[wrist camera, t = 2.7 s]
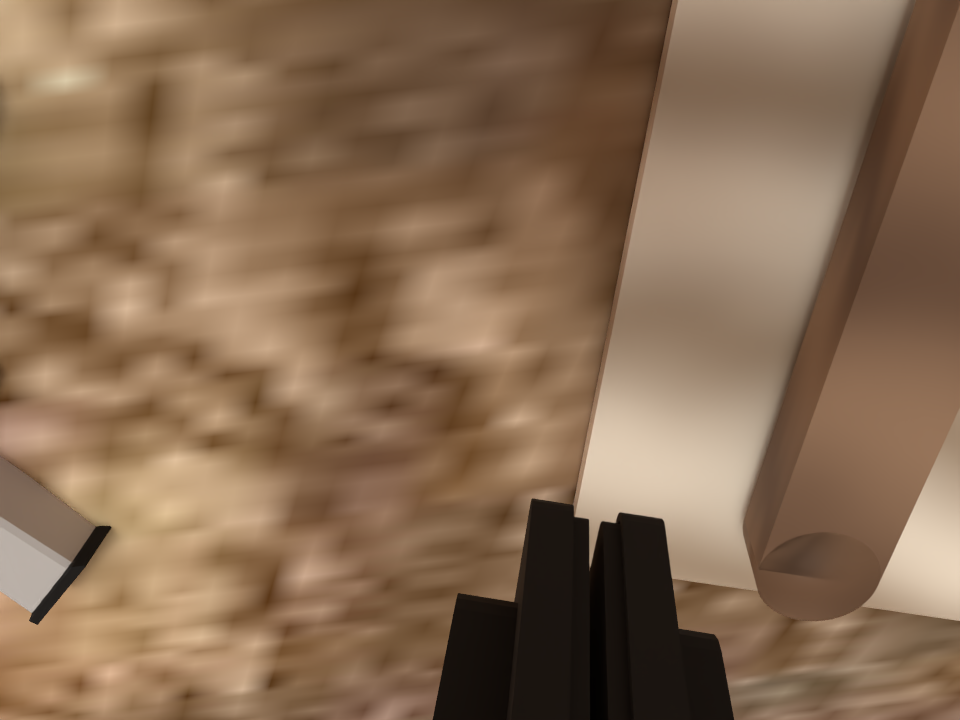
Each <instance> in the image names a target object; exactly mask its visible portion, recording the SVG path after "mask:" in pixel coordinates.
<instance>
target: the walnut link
mask: <svg viewBox="0 0 960 720" xmlns="http://www.w3.org/2000/svg"><path fill="white" fill-rule="evenodd" d="M959 409H960V0H916V2H915V5H914V8H913V12H912V15H911V18H910V21H909V24H908V27H907V30H906V33H905V36H904V39H903V42H902V45H901V48H900V51H899V54H898V57H897V60H896V63H895V66H894V69H893V72H892V75H891V78H890V81H889V84H888V87H887V90H886V93H885V96H884V99H883V102H882V105H881V108H880V111H879V114H878V117H877V120H876V123H875V126H874V129H873V132H872V135H871V138H870V141H869V144H868V147H867V150H866V153H865V156H864V159H863V162H862V165H861V168H860V171H859V174H858V177H857V180H856V183H855V186H854V189H853V192H852V195H851V198H850V201H849V204H848V207H847V210H846V213H845V216H844V219H843V222H842V225H841V228H840V231H839V234H838V237H837V240H836V243H835V246H834V250H833V253H832V256H831V259H830V262H829V265H828V268H827V271H826V274H825V277H824V280H823V283H822V286H821V289H820V292H819V295H818V298H817V301H816V304H815V307H814V310H813V313H812V316H811V319H810V322H809V325H808V328H807V331H806V334H805V337H804V340H803V343H802V346H801V349H800V352H799V355H798V358H797V361H796V364H795V367H794V370H793V373H792V376H791V379H790V382H789V385H788V388H787V391H786V394H785V397H784V400H783V403H782V406H781V409H780V412H779V415H778V418H777V421H776V424H775V427H774V430H773V433H772V436H771V439H770V442H769V445H768V448H767V451H766V454H765V457H764V460H763V463H762V466H761V469H760V472H759V475H758V478H757V481H756V484H755V487H754V491H753V494H752V497H751V500H750V503H749V506H748V509H747V512H746V515H745V518H744V521H743V536H744V540H745V544H746V548H747V552H748V555H749V559H750V563H751V567H752V571H753V575H754V578H755V582H756V586H757V589H758V593H759V595H760V597H761V598H762V600H763V601H764V602H765V603H766V604H767V605H768V606H769V607H770V608H771V609H773V610H774V611H776V612H777V613H779V614H781V615H784V616H786V617H789V618H792V619H797V620H803V621H822V620H829V619H834V618H837V617H841V616H843V615H846V614H848V613H850V612H852V611H854V610H856V609H857V608H859V607H860V606H862V605H863V604H864V603H866V602H867V601H868V600H869V599H870V597H871V596H872V595H873V594H874V592H875V590H876V589H877V587H878V585H879V582H880V580H881V578H882V576H883V574H884V572H885V569H886V567H887V565H888V563H889V561H890V559H891V556H892V554H893V552H894V550H895V548H896V545H897V543H898V541H899V539H900V537H901V535H902V532H903V530H904V528H905V526H906V524H907V522H908V519H909V517H910V515H911V513H912V511H913V509H914V506H915V504H916V502H917V500H918V498H919V495H920V493H921V491H922V489H923V487H924V485H925V482H926V480H927V478H928V476H929V474H930V472H931V469H932V467H933V465H934V463H935V461H936V459H937V456H938V454H939V452H940V450H941V448H942V445H943V443H944V441H945V439H946V437H947V435H948V432H949V430H950V428H951V426H952V424H953V422H954V419H955V417H956V415H957V413H958V411H959Z"/></svg>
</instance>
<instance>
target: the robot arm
mask: <svg viewBox="0 0 960 720" xmlns="http://www.w3.org/2000/svg"><path fill="white" fill-rule="evenodd" d="M433 720H734V717H733V711H732V706H731V700H730V695H729V690H728V684H727V679H726V674H725V668H724V663H723V657H722V652H721V648H720V645H719V641H718V639H717V638H716V636H715V635H714V634H708V633H702V632H696V631H689V630H683V629H678V621H677V614H676V606H675V598H674V591H673V583H672V575H671V568H670V560H669V552H668V545H667V537H666V529H665V524H664V520H663V519H661V518H655V517H648V516H642V515H635V514H629V513H622V512H620V513H619V514H618V516H617V519H616V523H612V522H605V521H602V522H601V523H600V527H599V531H598V535H597V540H596V544H595V549H594V553H593V558H592V563H591V567H590V572H589V519H586V518H580V517H574V505H570V504H564V503H557V502H551V501H544V500H538V499H532V500H531V505H530V510H529V516H528V522H527V528H526V534H525V540H524V547H523V553H522V559H521V565H520V571H519V577H518V583H517V589H516V595H515V601H514V602H509V601H503V600H497V599H491V598H485V597H478V596H472V595H466V594H460V593H458V595H457V599H456V604H455V609H454V614H453V619H452V624H451V629H450V635H449V640H448V645H447V650H446V655H445V660H444V665H443V670H442V675H441V681H440V686H439V691H438V696H437V701H436V706H435V711H434V716H433Z"/></svg>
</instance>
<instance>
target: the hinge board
mask: <svg viewBox="0 0 960 720" xmlns="http://www.w3.org/2000/svg"><path fill="white" fill-rule="evenodd" d="M915 2H916V0H672V5H671V10H670V15H669V20H668V26H667V31H666V36H665V41H664V46H663V51H662V56H661V61H660V66H659V71H658V76H657V81H656V86H655V92H654V97H653V102H652V107H651V112H650V117H649V122H648V127H647V132H646V137H645V142H644V147H643V153H642V158H641V163H640V168H639V173H638V178H637V183H636V188H635V193H634V198H633V203H632V208H631V213H630V219H629V224H628V229H627V234H626V239H625V244H624V249H623V254H622V259H621V264H620V269H619V274H618V280H617V285H616V290H615V295H614V300H613V305H612V310H611V315H610V320H609V325H608V330H607V335H606V340H605V346H604V351H603V356H602V361H601V366H600V371H599V376H598V381H597V386H596V391H595V396H594V401H593V407H592V412H591V417H590V422H589V427H588V432H587V437H586V442H585V447H584V452H583V457H582V462H581V467H580V473H579V478H578V483H577V488H576V493H575V498H574V503H573V505H574V517H580V518H586V519H589V566H591V563H592V558H593V553H594V549H595V544H596V540H597V535H598V531H599V527H600V523H601V522H602V521H605V522H612V523H616V519H617V516H618V514H619V513H620V512H622V513H629V514H635V515H642V516H648V517H655V518H661V519H663V520H664V524H665V529H666V537H667V545H668V552H669V560H670V568H671V575H672V578H673V579H679V580H686V581H693V582H700V583H707V584H713V585H720V586H727V587H734V588H740V589H747V590H754V591H758V589H757V586H756V582H755V578H754V575H753V571H752V567H751V563H750V559H749V555H748V552H747V548H746V544H745V540H744V536H743V521H744V518H745V515H746V512H747V509H748V506H749V503H750V500H751V497H752V494H753V491H754V487H755V484H756V481H757V478H758V475H759V472H760V469H761V466H762V463H763V460H764V457H765V454H766V451H767V448H768V445H769V442H770V439H771V436H772V433H773V430H774V427H775V424H776V421H777V418H778V415H779V412H780V409H781V406H782V403H783V400H784V397H785V394H786V391H787V388H788V385H789V382H790V379H791V376H792V373H793V370H794V367H795V364H796V361H797V358H798V355H799V352H800V349H801V346H802V343H803V340H804V337H805V334H806V331H807V328H808V325H809V322H810V319H811V316H812V313H813V310H814V307H815V304H816V301H817V298H818V295H819V292H820V289H821V286H822V283H823V280H824V277H825V274H826V271H827V268H828V265H829V262H830V259H831V256H832V253H833V250H834V246H835V243H836V240H837V237H838V234H839V231H840V228H841V225H842V222H843V219H844V216H845V213H846V210H847V207H848V204H849V201H850V198H851V195H852V192H853V189H854V186H855V183H856V180H857V177H858V174H859V171H860V168H861V165H862V162H863V159H864V156H865V153H866V150H867V147H868V144H869V141H870V138H871V135H872V132H873V129H874V126H875V123H876V120H877V117H878V114H879V111H880V108H881V105H882V102H883V99H884V96H885V93H886V90H887V87H888V84H889V81H890V78H891V75H892V72H893V69H894V66H895V63H896V60H897V57H898V54H899V51H900V48H901V45H902V42H903V39H904V36H905V33H906V30H907V27H908V24H909V21H910V18H911V15H912V12H913V8H914V5H915ZM862 606H863V607H870V608H876V609H883V610H890V611H897V612H904V613H910V614H917V615H924V616H931V617H937V618H944V619H951V620H958V621H960V409H959V411H958V413H957V415H956V417H955V419H954V422H953V424H952V426H951V428H950V430H949V432H948V435H947V437H946V439H945V441H944V443H943V445H942V448H941V450H940V452H939V454H938V456H937V459H936V461H935V463H934V465H933V467H932V469H931V472H930V474H929V476H928V478H927V480H926V482H925V485H924V487H923V489H922V491H921V493H920V495H919V498H918V500H917V502H916V504H915V506H914V509H913V511H912V513H911V515H910V517H909V519H908V522H907V524H906V526H905V528H904V530H903V532H902V535H901V537H900V539H899V541H898V543H897V545H896V548H895V550H894V552H893V554H892V556H891V559H890V561H889V563H888V565H887V567H886V569H885V572H884V574H883V576H882V578H881V580H880V582H879V585H878V587H877V589H876V590H875V592H874V594H873V595H872V596H871V597H870V599H869V600H868V601H867V602H866V603H864V604H863V605H862Z"/></svg>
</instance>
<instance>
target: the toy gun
mask: <svg viewBox="0 0 960 720" xmlns="http://www.w3.org/2000/svg"><path fill="white" fill-rule="evenodd" d="M110 528H111V527H110V526H98V527H95V526H94V525H92V524H91V523H90V522H89V521H87V520H86V519H85V518H83V517H82V516H81V515H79V514H78V513H77V512H75V511H74V510H73V509H71V508H70V507H69V506H68V505H66V504H65V503H64V502H62V501H61V500H60V499H58V498H57V497H56V496H54V495H53V494H52V493H50V492H49V491H48V490H46V489H45V488H44V487H43V486H41V485H40V484H39V483H37V482H36V481H35V480H33V479H32V478H31V477H29V476H28V475H27V474H25V473H24V472H22V471H21V470H19V469H18V468H17V467H15V466H14V465H12V464H11V463H10V462H8V461H7V460H5V459H4V458H3V457H1V456H0V591H1V592H2V593H4V594H5V595H6V596H8V597H9V598H11V599H12V600H14V601H15V602H17V603H18V604H19V605H21V606H22V607H24V608H25V609H27V610H28V611H30V612H31V613H32V615H31V617H30V620H29V621H30V622H32V623H35V624H37V625H38V624H39V622H40V621H41V620H42V619H43V618H44V616H45V615H46V614H47V613H48V611H49V610H50V609H51V608H52V607H53V605H54V604H55V603H56V602H57V601H58V599H59V598H60V597H61V596H62V594H63V593H64V592H65V591H66V590H67V588H68V587H69V586H70V585H71V584H72V582H73V581H74V580H75V579H76V578H77V576H78V575H79V574H80V573H81V571H82V570H83V569H84V568H85V567H86V565H87V564H88V562H89V560H90V559H91V557H92V556H93V554H94V553H95V551H96V550H97V548H98V547H99V545H100V544H101V542H102V541H103V539H104V538H105V536H106V535H107V533H108V532H109V530H110Z"/></svg>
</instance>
